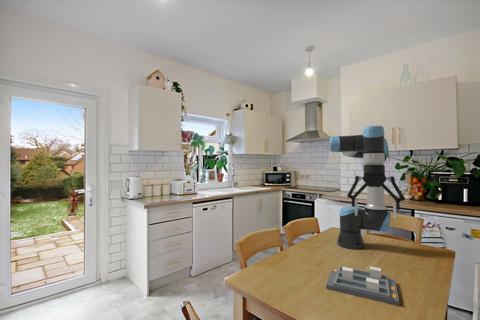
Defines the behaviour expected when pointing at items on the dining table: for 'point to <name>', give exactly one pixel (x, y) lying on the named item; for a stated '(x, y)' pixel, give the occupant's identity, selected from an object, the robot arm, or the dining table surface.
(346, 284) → the switch board
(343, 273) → the tab
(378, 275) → the tab
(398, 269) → the dining table surface
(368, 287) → the tab
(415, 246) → the dining table surface
